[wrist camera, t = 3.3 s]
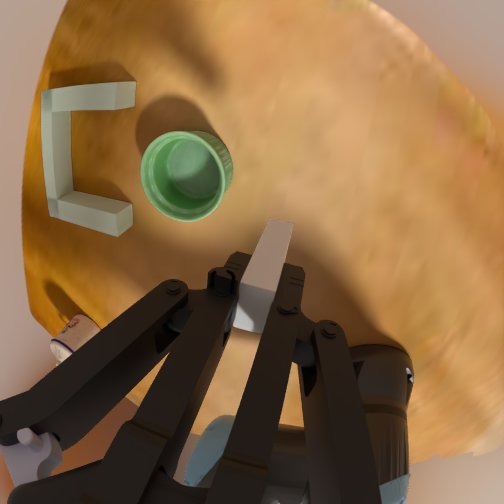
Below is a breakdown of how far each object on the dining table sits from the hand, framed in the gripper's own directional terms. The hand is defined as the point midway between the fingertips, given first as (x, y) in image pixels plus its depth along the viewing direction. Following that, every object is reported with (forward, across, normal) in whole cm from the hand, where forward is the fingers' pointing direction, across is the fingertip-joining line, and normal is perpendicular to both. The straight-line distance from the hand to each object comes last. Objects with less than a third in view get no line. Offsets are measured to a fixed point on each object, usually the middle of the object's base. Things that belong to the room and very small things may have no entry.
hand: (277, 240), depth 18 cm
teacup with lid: (+12, +34, +38) cm, 53 cm away
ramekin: (+12, +10, 0) cm, 16 cm away
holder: (+12, +25, 0) cm, 28 cm away
